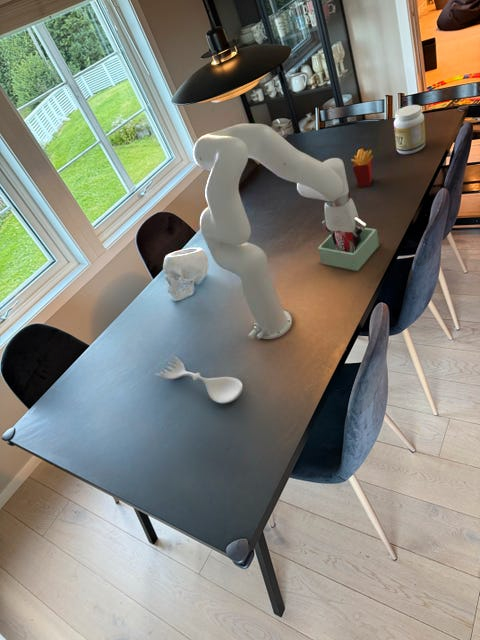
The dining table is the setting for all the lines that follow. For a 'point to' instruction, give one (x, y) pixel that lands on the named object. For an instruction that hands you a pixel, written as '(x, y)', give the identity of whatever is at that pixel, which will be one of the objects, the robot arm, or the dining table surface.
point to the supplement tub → (409, 129)
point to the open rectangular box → (346, 259)
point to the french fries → (363, 168)
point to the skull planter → (185, 271)
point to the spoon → (207, 382)
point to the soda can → (345, 241)
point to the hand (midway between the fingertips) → (347, 242)
